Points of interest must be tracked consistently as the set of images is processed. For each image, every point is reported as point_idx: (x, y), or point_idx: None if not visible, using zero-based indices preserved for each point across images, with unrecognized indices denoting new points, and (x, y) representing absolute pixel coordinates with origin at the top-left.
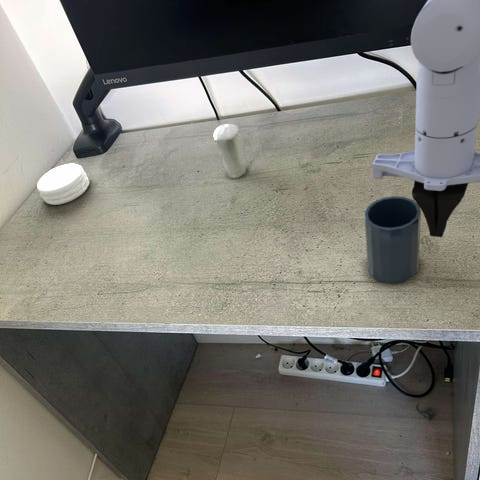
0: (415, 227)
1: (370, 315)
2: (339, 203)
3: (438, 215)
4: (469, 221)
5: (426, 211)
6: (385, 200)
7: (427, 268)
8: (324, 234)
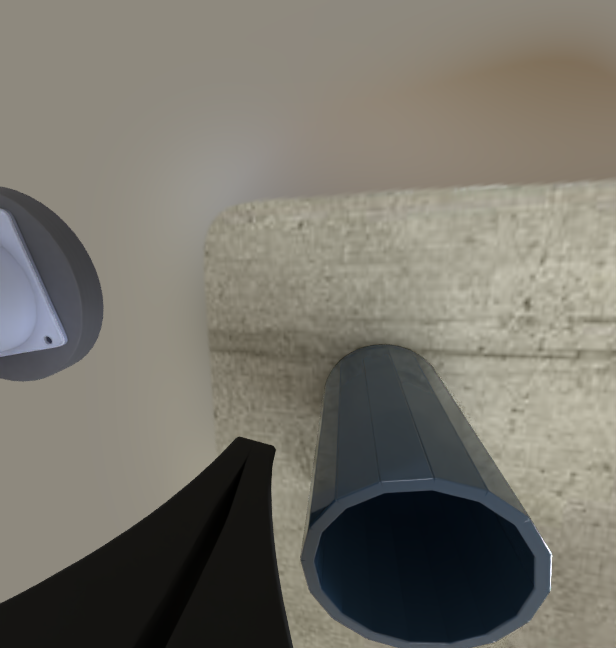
0: (322, 485)
1: (442, 234)
2: None
3: (199, 528)
4: None
5: (252, 566)
6: (441, 635)
7: (304, 389)
8: (549, 513)
